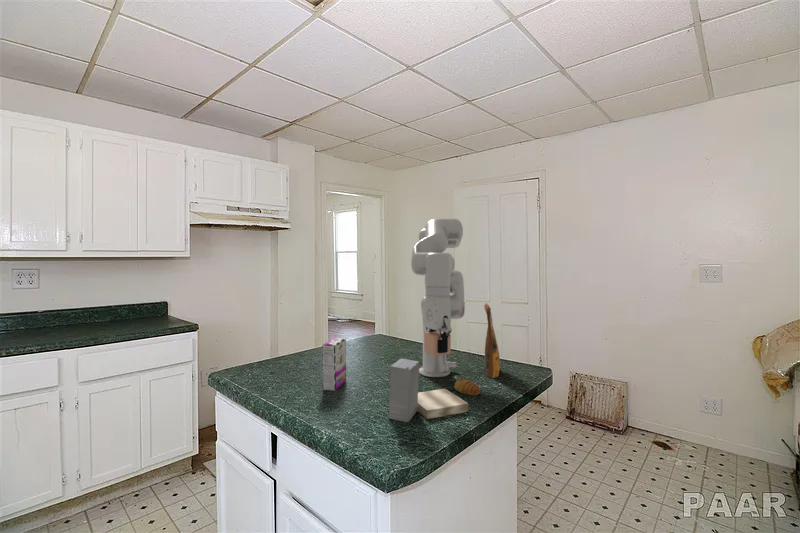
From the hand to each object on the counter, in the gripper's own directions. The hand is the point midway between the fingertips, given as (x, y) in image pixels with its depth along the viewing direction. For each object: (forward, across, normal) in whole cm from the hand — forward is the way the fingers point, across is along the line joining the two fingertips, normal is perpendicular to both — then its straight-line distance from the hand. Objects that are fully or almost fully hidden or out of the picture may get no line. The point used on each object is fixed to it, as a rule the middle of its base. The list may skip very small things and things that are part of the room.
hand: (437, 349), depth 116 cm
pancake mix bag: (+18, -23, +38) cm, 48 cm away
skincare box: (+18, +2, -12) cm, 22 cm away
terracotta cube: (+1, 0, 0) cm, 1 cm away
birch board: (+18, 0, 0) cm, 18 cm away
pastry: (+18, -9, +17) cm, 26 cm away
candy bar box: (+18, -31, -25) cm, 44 cm away
